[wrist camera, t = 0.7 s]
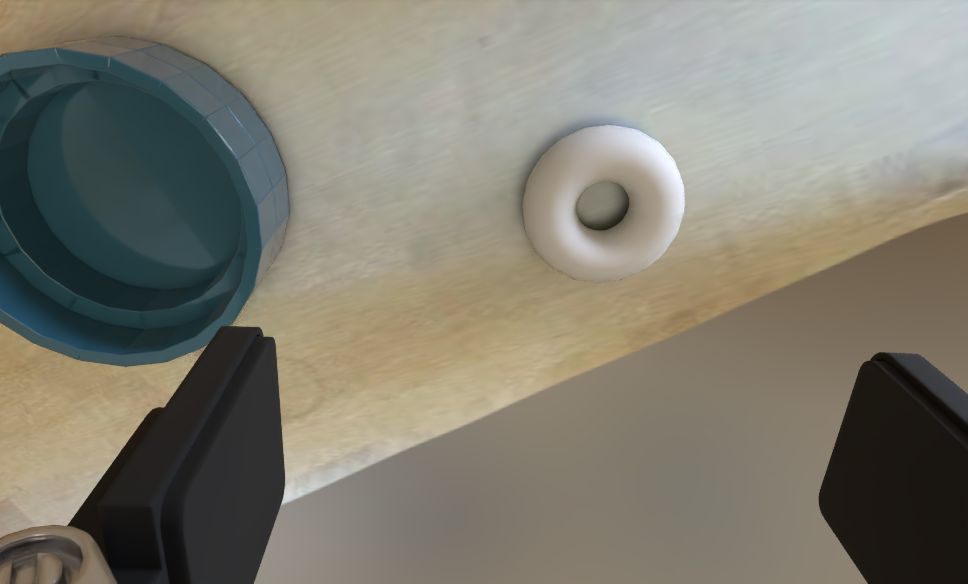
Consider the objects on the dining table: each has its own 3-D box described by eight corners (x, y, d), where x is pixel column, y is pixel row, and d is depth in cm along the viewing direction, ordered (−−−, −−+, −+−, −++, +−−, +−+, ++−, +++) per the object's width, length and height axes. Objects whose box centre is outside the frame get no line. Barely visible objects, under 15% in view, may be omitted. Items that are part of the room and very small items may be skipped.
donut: (501, 146, 43) (542, 288, 47) (504, 159, 40) (547, 310, 44) (660, 98, 42) (688, 247, 46) (676, 108, 39) (704, 267, 43)
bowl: (-20, 9, 39) (-115, 17, 32) (301, 66, 40) (270, 85, 34) (12, 290, 46) (-60, 342, 40) (283, 329, 48) (255, 385, 41)
